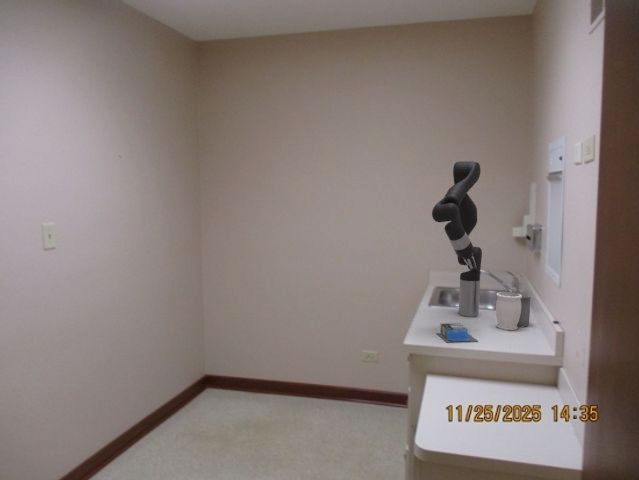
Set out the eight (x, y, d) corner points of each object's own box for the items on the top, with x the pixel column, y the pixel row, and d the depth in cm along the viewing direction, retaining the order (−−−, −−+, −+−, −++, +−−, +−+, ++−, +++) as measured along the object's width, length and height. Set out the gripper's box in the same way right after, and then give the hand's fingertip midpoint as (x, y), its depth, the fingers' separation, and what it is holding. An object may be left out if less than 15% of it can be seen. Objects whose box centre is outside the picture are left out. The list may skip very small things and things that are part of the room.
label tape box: (460, 323, 200) (471, 331, 188) (460, 332, 201) (471, 341, 188) (440, 323, 200) (449, 331, 188) (440, 332, 200) (449, 341, 188)
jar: (506, 332, 202) (508, 297, 200) (489, 325, 211) (491, 292, 209) (525, 329, 206) (527, 295, 204) (507, 323, 215) (509, 290, 214)
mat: (436, 334, 199) (436, 333, 199) (466, 333, 200) (466, 332, 200) (446, 342, 187) (446, 341, 187) (478, 341, 189) (478, 340, 189)
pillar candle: (506, 320, 221) (507, 288, 219) (529, 322, 217) (530, 290, 215) (505, 325, 212) (507, 293, 210) (529, 328, 208) (531, 294, 206)
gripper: (472, 248, 190) (488, 279, 197) (467, 231, 201) (482, 261, 208) (454, 255, 193) (470, 285, 200) (450, 238, 204) (466, 267, 211)
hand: (476, 273), depth 204 cm, fingers closed
